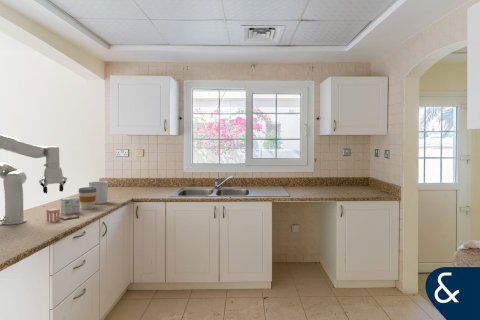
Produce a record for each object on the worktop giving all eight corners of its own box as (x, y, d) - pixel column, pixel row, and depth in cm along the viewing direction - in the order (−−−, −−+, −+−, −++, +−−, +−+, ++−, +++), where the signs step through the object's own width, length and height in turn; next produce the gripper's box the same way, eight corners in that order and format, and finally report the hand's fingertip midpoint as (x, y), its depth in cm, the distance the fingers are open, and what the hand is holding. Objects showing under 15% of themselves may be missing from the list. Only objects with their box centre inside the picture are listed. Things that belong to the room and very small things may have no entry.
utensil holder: (92, 201, 284) (92, 180, 283) (110, 201, 286) (110, 180, 285) (86, 204, 269) (86, 182, 269) (105, 204, 271) (105, 183, 270)
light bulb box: (75, 211, 243) (75, 196, 242) (80, 212, 238) (80, 197, 238) (60, 213, 234) (60, 198, 234) (64, 214, 230) (64, 199, 230)
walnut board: (64, 220, 214) (64, 218, 214) (56, 218, 220) (56, 216, 220) (79, 217, 222) (79, 216, 222) (71, 215, 228) (71, 214, 228)
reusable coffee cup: (91, 209, 250) (91, 189, 249) (75, 209, 250) (75, 189, 249) (99, 206, 262) (99, 187, 262) (83, 205, 263) (83, 187, 262)
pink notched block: (50, 221, 209) (50, 210, 209) (46, 220, 213) (46, 209, 212) (59, 220, 214) (59, 209, 214) (55, 218, 217) (55, 208, 217)
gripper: (41, 166, 202) (41, 194, 203) (69, 165, 216) (69, 191, 217) (35, 166, 207) (36, 193, 208) (63, 164, 221) (64, 190, 222)
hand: (53, 192), depth 212 cm, fingers open, 9 cm apart
